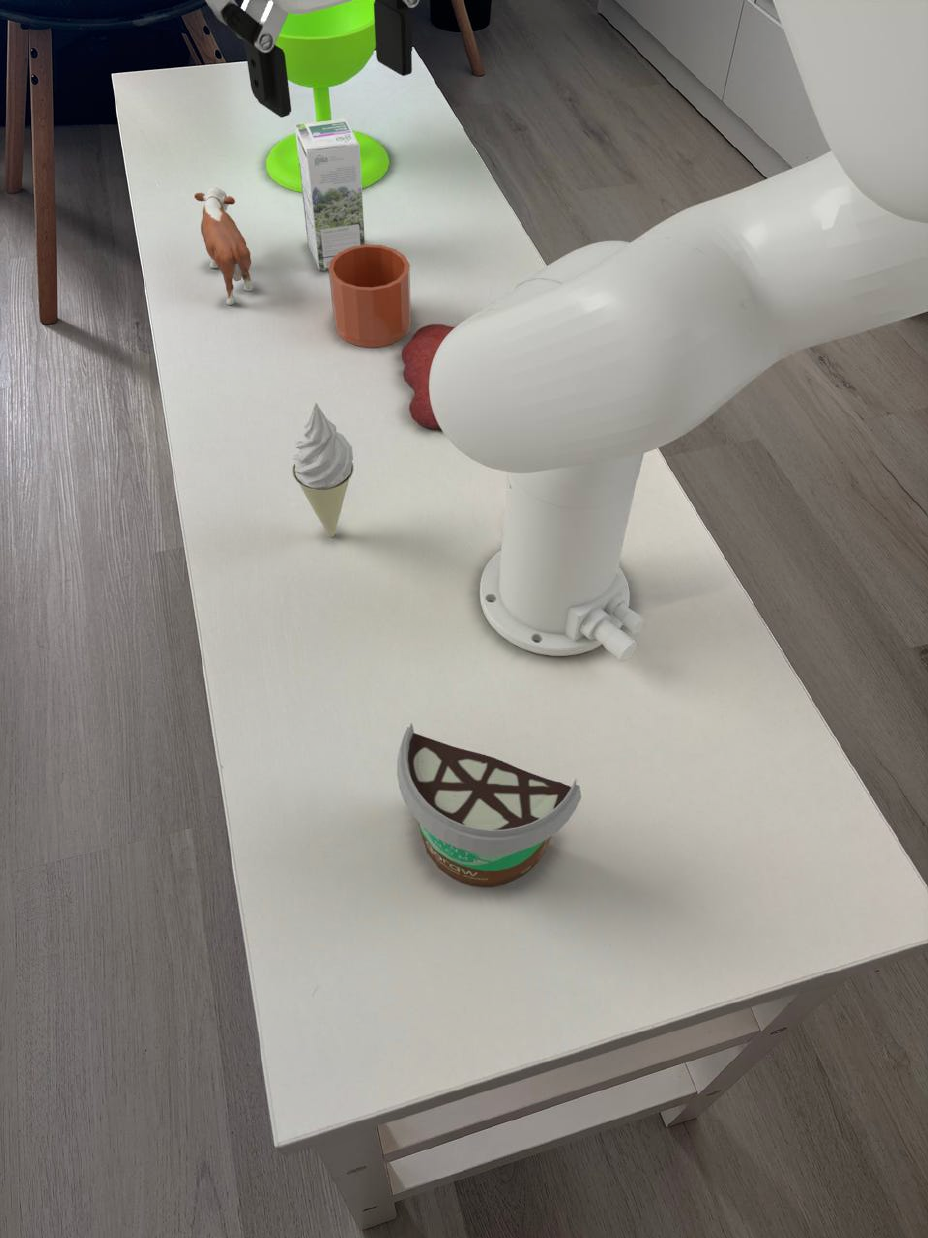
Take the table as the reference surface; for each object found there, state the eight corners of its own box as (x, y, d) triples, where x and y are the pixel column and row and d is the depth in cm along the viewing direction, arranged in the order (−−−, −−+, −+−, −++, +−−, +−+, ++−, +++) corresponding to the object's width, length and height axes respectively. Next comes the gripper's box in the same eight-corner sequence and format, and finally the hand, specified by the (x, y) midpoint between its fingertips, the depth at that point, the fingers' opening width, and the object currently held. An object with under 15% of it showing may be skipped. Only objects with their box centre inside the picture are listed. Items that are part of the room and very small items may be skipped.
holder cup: (426, 327, 106) (425, 269, 100) (366, 357, 102) (362, 299, 97) (378, 293, 110) (375, 235, 104) (319, 321, 106) (313, 263, 101)
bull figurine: (240, 243, 115) (228, 175, 109) (261, 308, 107) (250, 239, 101) (202, 248, 114) (188, 181, 108) (222, 314, 107) (208, 246, 100)
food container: (372, 867, 68) (363, 799, 60) (407, 792, 72) (403, 720, 64) (541, 930, 65) (555, 868, 58) (568, 850, 69) (584, 782, 61)
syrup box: (354, 238, 116) (345, 114, 105) (367, 265, 113) (359, 140, 101) (307, 246, 115) (293, 121, 104) (319, 273, 112) (305, 147, 100)
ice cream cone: (351, 560, 85) (337, 428, 73) (295, 551, 86) (272, 418, 74) (366, 519, 88) (355, 386, 76) (312, 510, 89) (293, 377, 77)
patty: (554, 431, 96) (556, 415, 94) (414, 443, 94) (414, 427, 93) (521, 324, 107) (522, 308, 105) (394, 334, 105) (394, 318, 103)
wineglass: (353, 122, 134) (343, -27, 120) (411, 174, 126) (408, 20, 111) (245, 150, 128) (221, -2, 114) (299, 207, 120) (279, 50, 106)
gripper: (200, -211, 46) (255, 149, 60) (479, -259, 53) (471, 72, 67) (124, -243, 50) (192, 103, 63) (396, -285, 57) (404, 35, 70)
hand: (335, 87), depth 65 cm, fingers open, 9 cm apart
